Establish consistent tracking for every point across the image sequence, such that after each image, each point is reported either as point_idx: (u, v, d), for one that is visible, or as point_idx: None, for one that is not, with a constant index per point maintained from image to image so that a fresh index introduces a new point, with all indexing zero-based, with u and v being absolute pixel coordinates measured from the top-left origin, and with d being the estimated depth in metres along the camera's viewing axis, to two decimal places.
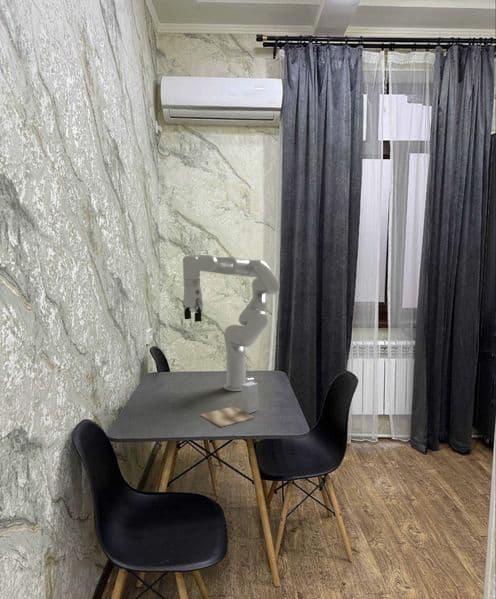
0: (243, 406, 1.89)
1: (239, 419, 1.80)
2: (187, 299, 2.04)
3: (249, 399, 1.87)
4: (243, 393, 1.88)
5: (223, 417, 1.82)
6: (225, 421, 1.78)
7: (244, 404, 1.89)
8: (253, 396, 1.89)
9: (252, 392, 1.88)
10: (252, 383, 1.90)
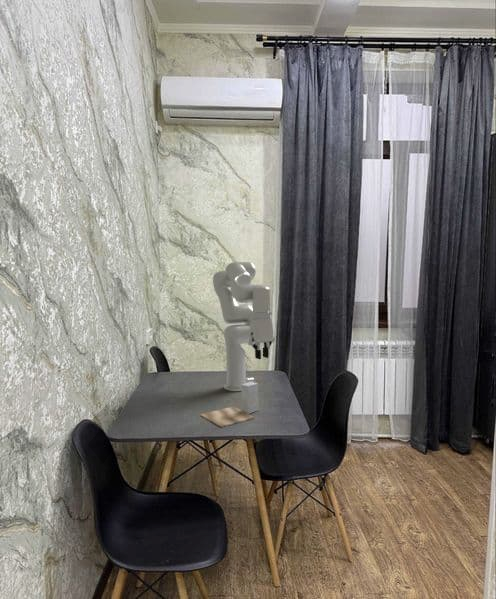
0: (243, 406, 1.89)
1: (239, 419, 1.80)
2: (264, 333, 1.89)
3: (249, 399, 1.87)
4: (243, 393, 1.88)
5: (223, 417, 1.82)
6: (225, 421, 1.78)
7: (244, 404, 1.89)
8: (253, 396, 1.89)
9: (252, 392, 1.88)
10: (252, 383, 1.90)
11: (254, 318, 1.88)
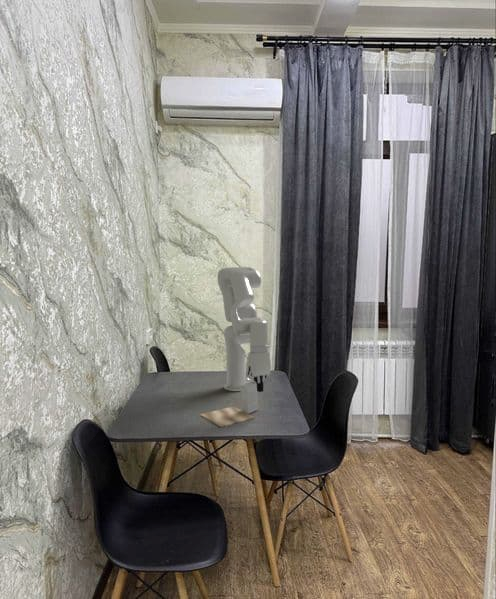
0: (243, 407, 1.89)
1: (239, 419, 1.80)
2: (262, 367, 1.89)
3: (248, 399, 1.87)
4: (243, 393, 1.88)
5: (223, 417, 1.82)
6: (225, 421, 1.78)
7: (244, 404, 1.88)
8: (252, 396, 1.88)
9: (251, 392, 1.88)
10: (251, 383, 1.89)
11: (252, 352, 1.89)
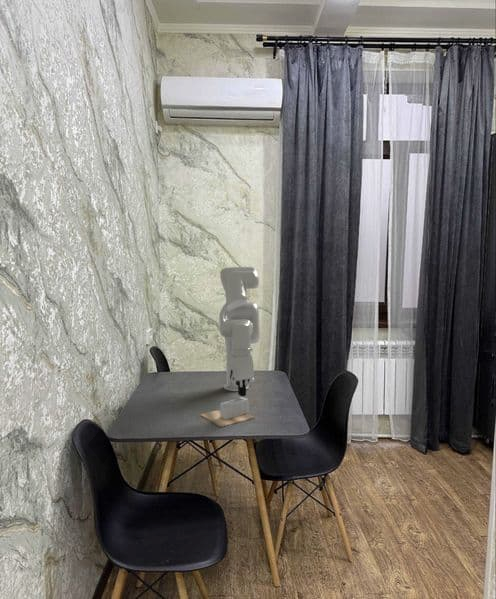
0: None
1: (239, 419, 1.80)
2: (244, 371, 1.85)
3: (237, 414, 1.83)
4: None
5: None
6: (225, 421, 1.78)
7: None
8: (236, 409, 1.83)
9: (232, 411, 1.82)
10: (224, 408, 1.80)
11: (234, 355, 1.84)
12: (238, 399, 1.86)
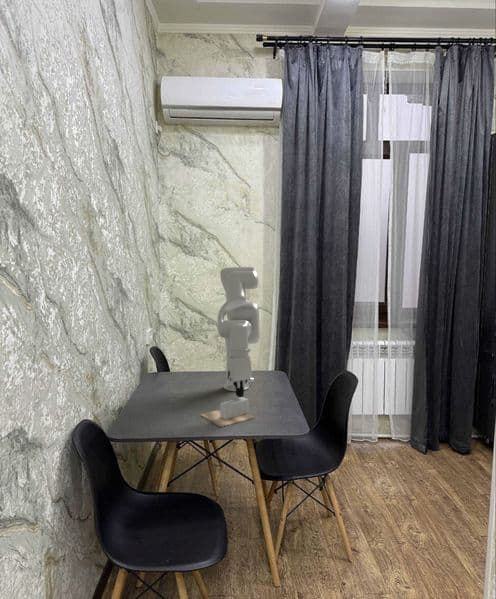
0: None
1: (239, 419, 1.80)
2: (242, 371, 1.84)
3: (237, 414, 1.83)
4: None
5: None
6: (225, 421, 1.78)
7: None
8: (236, 409, 1.83)
9: (232, 411, 1.82)
10: (224, 408, 1.80)
11: (231, 356, 1.83)
12: (238, 399, 1.86)
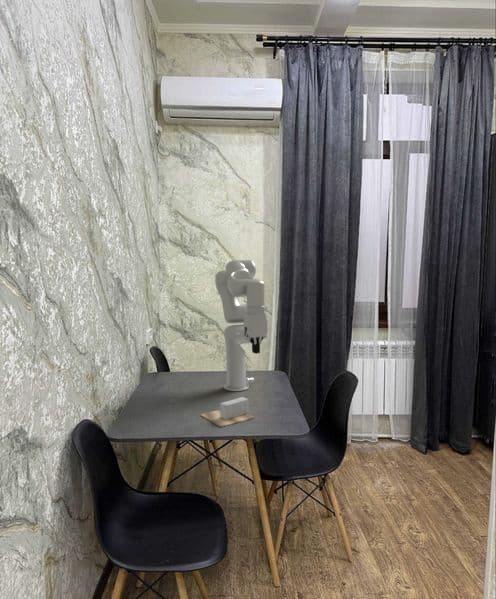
0: None
1: (239, 419, 1.80)
2: (258, 328, 1.87)
3: (237, 414, 1.83)
4: None
5: None
6: (225, 421, 1.78)
7: None
8: (236, 409, 1.83)
9: (232, 411, 1.82)
10: (224, 408, 1.80)
11: (248, 313, 1.86)
12: (238, 399, 1.86)
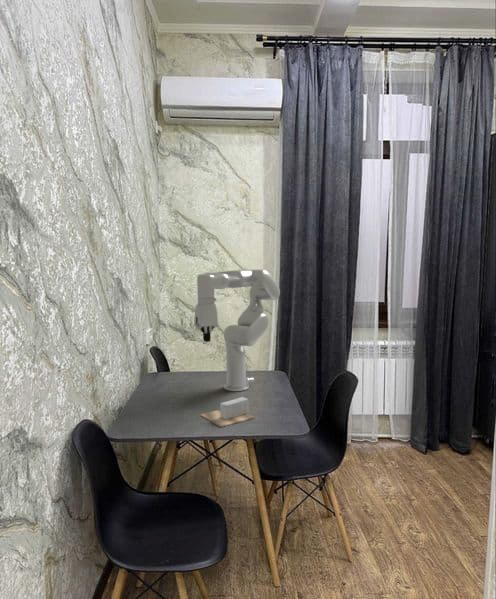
0: None
1: (239, 419, 1.80)
2: (208, 318, 2.02)
3: (237, 414, 1.83)
4: None
5: None
6: (225, 421, 1.78)
7: None
8: (236, 409, 1.83)
9: (232, 411, 1.82)
10: (224, 408, 1.80)
11: (199, 304, 2.01)
12: (238, 399, 1.86)
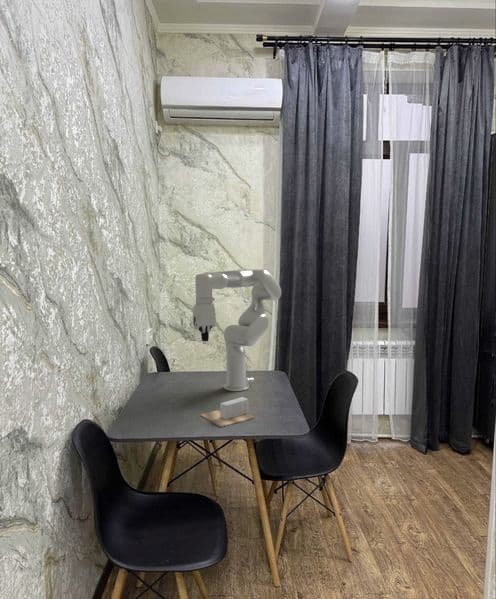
0: None
1: (239, 419, 1.80)
2: (206, 317, 2.02)
3: (237, 414, 1.83)
4: None
5: None
6: (225, 421, 1.78)
7: None
8: (236, 409, 1.83)
9: (232, 411, 1.82)
10: (224, 408, 1.80)
11: (197, 303, 2.02)
12: (238, 399, 1.86)
